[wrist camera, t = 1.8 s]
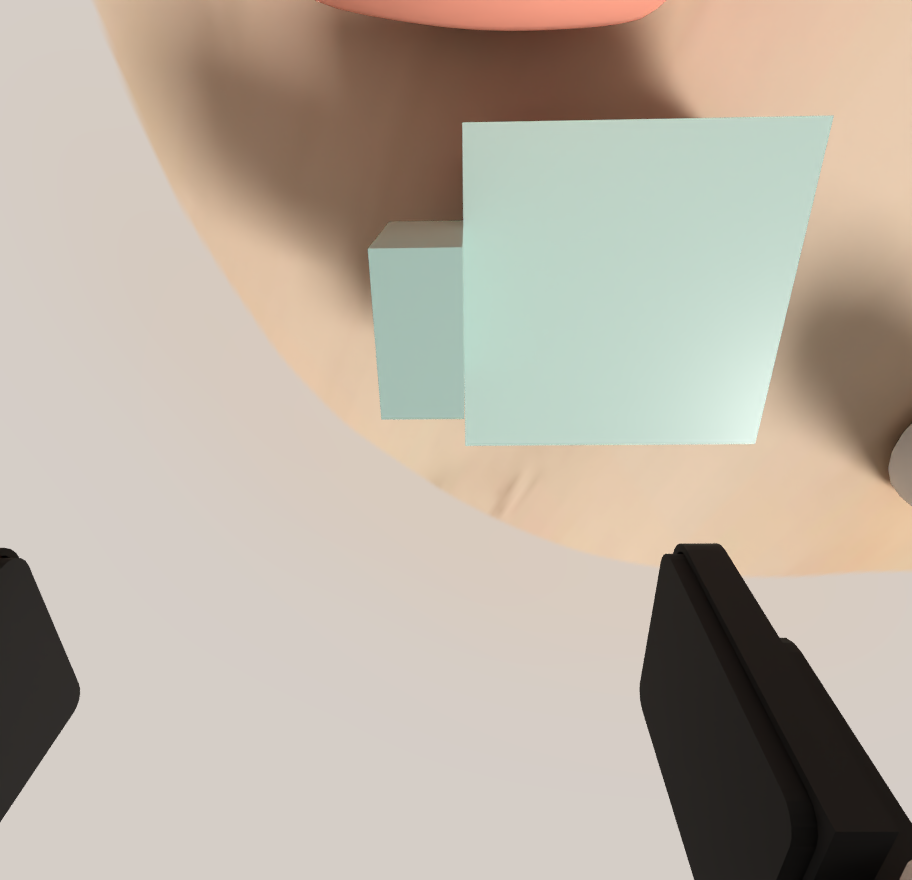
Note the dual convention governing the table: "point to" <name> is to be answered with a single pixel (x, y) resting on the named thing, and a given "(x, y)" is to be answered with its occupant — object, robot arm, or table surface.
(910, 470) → the can
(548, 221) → the mint green stepped block
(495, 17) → the teapot
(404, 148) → the table surface
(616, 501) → the table surface
